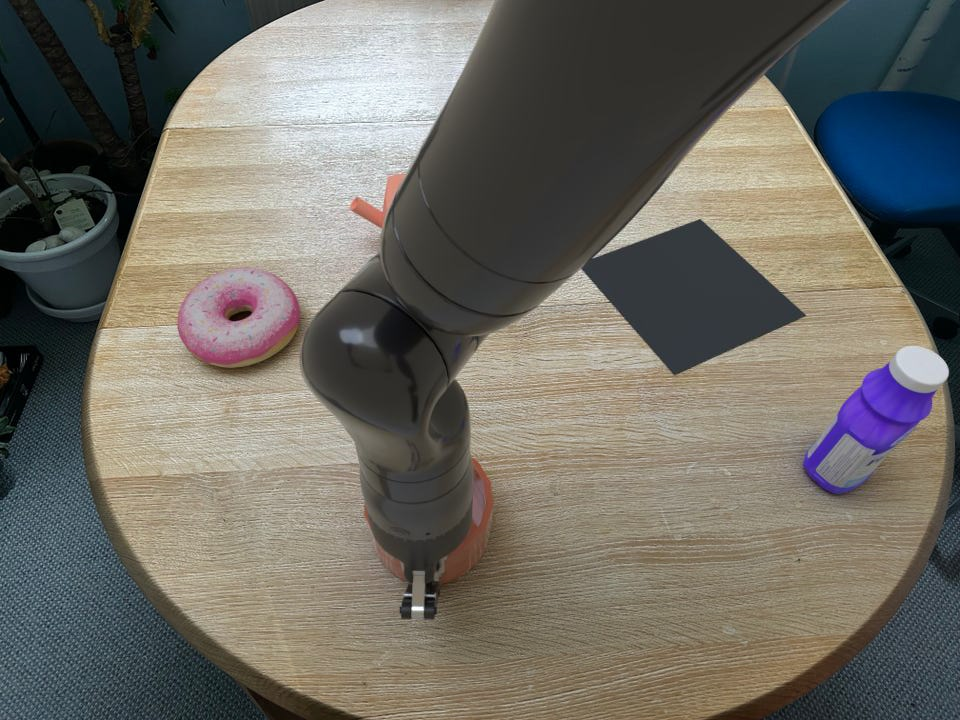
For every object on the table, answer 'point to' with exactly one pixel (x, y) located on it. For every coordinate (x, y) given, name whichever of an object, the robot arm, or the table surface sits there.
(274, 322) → the donut
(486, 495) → the bowl
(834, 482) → the bottle
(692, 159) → the table surface
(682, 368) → the mat
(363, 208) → the teapot
